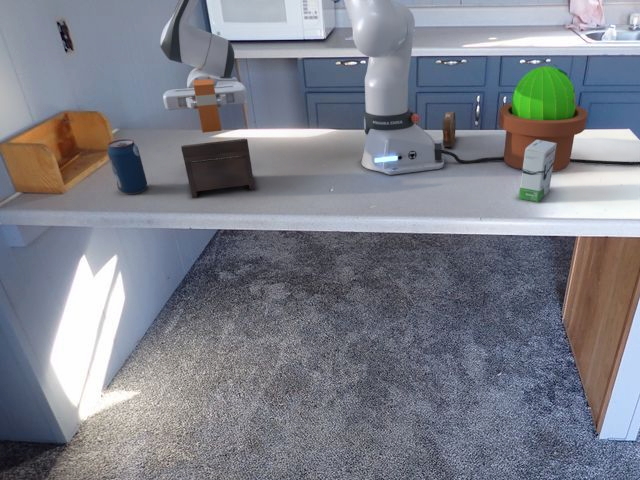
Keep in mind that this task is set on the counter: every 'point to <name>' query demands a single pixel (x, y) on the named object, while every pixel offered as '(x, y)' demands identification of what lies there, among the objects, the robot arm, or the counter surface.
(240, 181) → the brown wooden cabinet
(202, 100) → the packet
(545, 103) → the potted cactus
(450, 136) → the tin
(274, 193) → the counter surface
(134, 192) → the soda can
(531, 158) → the ink box
